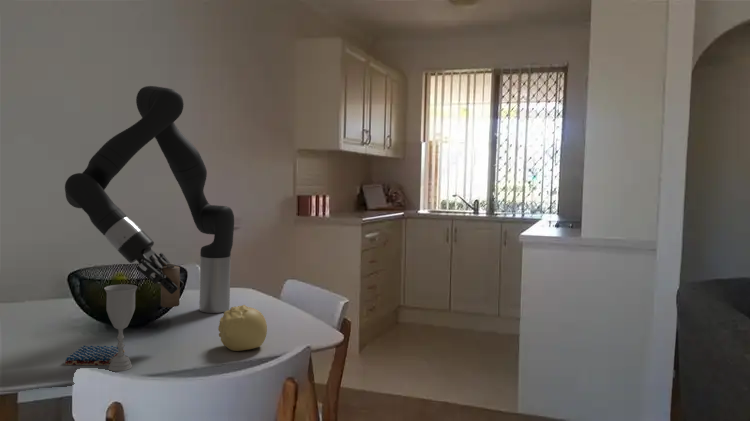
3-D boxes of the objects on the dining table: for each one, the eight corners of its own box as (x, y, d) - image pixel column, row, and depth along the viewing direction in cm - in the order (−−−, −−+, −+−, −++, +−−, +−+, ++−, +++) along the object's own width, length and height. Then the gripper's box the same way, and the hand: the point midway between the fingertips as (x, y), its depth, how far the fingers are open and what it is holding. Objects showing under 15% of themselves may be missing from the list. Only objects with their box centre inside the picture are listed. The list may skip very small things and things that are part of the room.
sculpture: (217, 342, 155) (218, 301, 154) (264, 340, 158) (265, 300, 157) (218, 355, 144) (219, 311, 143) (268, 353, 147) (269, 310, 146)
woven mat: (61, 367, 133) (61, 358, 133) (81, 353, 143) (81, 344, 143) (110, 367, 134) (110, 359, 134) (126, 353, 144) (126, 345, 144)
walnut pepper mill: (164, 302, 151) (164, 261, 150) (181, 303, 151) (182, 262, 150) (158, 306, 146) (158, 264, 146) (176, 307, 147) (176, 265, 146)
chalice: (110, 361, 136) (111, 284, 135) (141, 362, 137) (141, 284, 136) (98, 372, 129) (98, 290, 128) (130, 372, 130) (131, 291, 128)
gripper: (129, 232, 140) (180, 284, 141) (150, 226, 154) (196, 273, 155) (106, 254, 140) (158, 306, 141) (129, 245, 154) (176, 293, 156)
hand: (178, 288), depth 148 cm, fingers closed on walnut pepper mill, 4 cm apart
